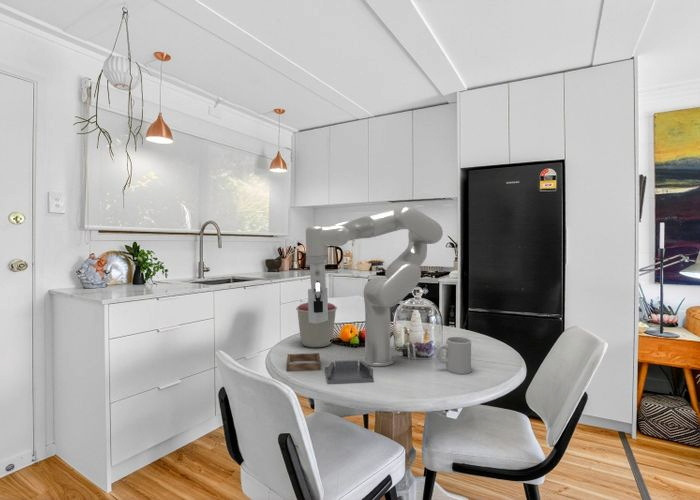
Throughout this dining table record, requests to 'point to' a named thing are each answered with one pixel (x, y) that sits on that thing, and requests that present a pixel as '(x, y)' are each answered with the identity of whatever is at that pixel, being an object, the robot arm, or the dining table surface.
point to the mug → (456, 355)
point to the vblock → (348, 372)
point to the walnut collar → (303, 365)
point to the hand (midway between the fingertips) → (318, 309)
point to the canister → (316, 327)
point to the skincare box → (313, 316)
